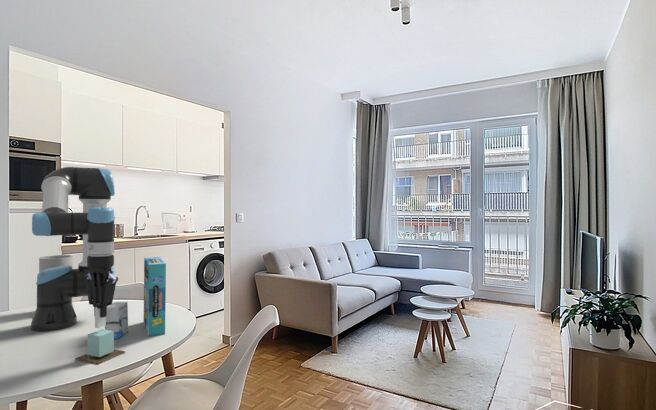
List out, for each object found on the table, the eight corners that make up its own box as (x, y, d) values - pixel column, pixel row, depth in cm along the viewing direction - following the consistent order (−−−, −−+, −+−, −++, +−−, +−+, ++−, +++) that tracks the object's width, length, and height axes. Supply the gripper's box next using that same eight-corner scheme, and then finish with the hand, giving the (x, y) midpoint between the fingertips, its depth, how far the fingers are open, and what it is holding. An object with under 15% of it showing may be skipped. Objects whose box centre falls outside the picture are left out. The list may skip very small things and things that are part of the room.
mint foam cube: (87, 354, 121) (87, 334, 121) (102, 349, 126) (102, 329, 126) (99, 357, 119) (99, 336, 119) (113, 351, 124) (113, 331, 124)
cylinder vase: (75, 306, 182) (76, 254, 182) (67, 313, 170) (67, 258, 170) (45, 308, 178) (45, 255, 178) (33, 316, 166) (34, 259, 166)
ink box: (118, 339, 138) (118, 307, 138) (103, 339, 138) (103, 307, 138) (128, 331, 146) (128, 301, 147) (114, 332, 146) (115, 301, 146)
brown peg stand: (75, 359, 120) (75, 337, 120) (103, 348, 129) (103, 328, 129) (97, 364, 116) (98, 341, 116) (125, 352, 126) (125, 331, 126)
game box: (142, 322, 158) (143, 257, 158) (159, 319, 162) (159, 256, 162) (147, 337, 141) (147, 264, 141) (165, 334, 144) (166, 263, 144)
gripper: (75, 254, 122) (75, 327, 122) (105, 257, 117) (104, 333, 118) (96, 252, 129) (96, 320, 129) (125, 254, 124) (125, 325, 125)
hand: (100, 326), depth 124 cm, fingers closed
